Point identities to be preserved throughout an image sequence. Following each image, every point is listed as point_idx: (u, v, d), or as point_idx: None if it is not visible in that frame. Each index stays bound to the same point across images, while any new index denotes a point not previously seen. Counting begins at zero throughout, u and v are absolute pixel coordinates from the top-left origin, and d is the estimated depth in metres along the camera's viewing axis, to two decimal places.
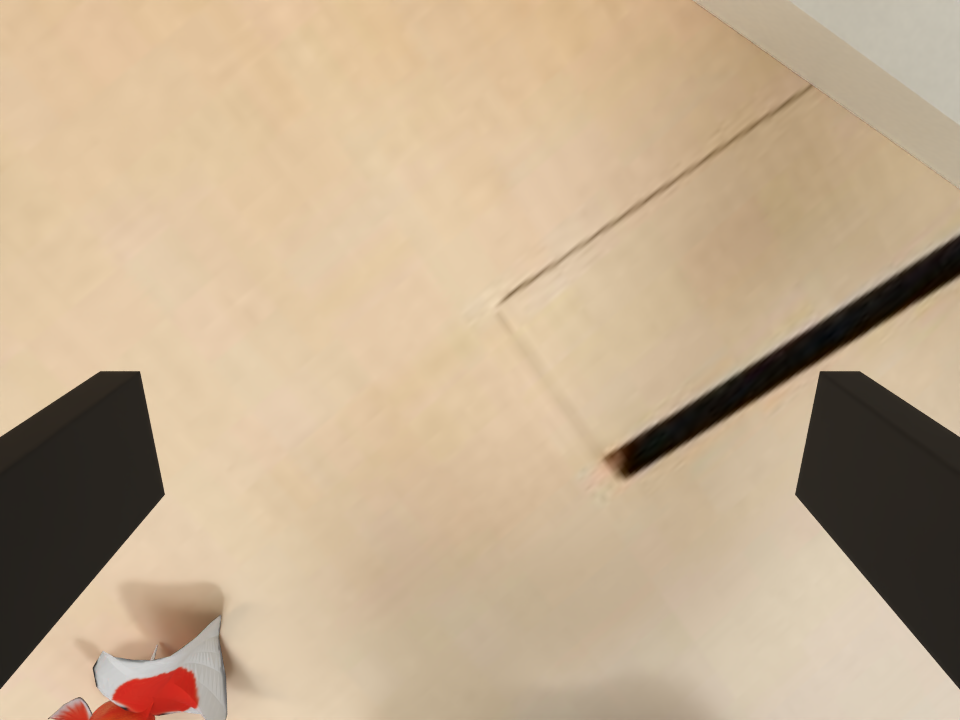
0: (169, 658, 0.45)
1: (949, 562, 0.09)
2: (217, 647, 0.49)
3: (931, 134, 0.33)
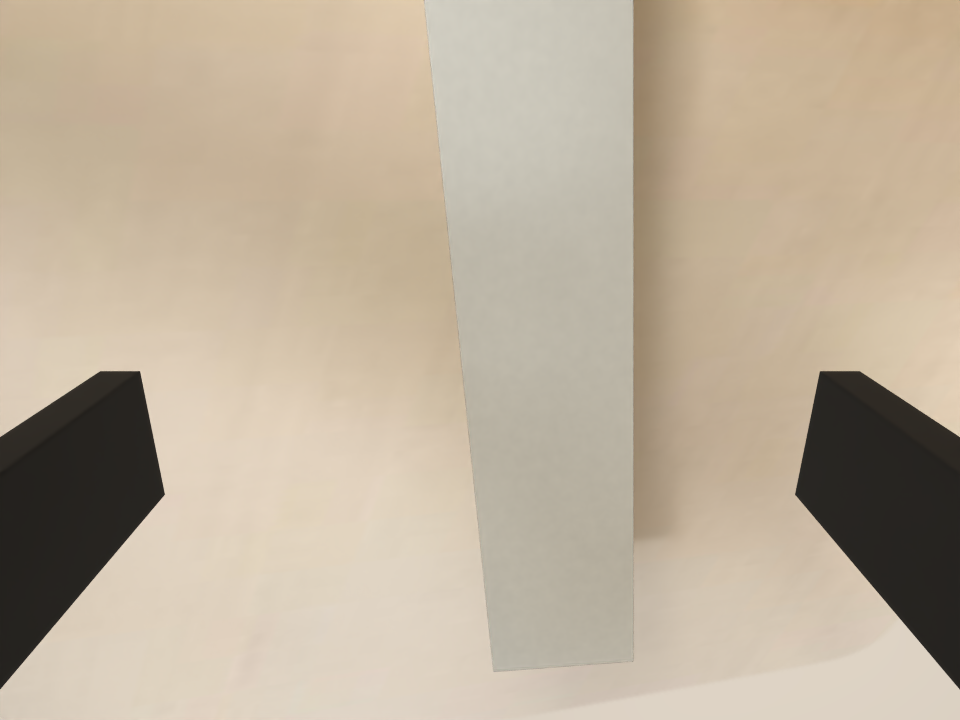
0: None
1: (949, 563, 0.09)
2: None
3: None
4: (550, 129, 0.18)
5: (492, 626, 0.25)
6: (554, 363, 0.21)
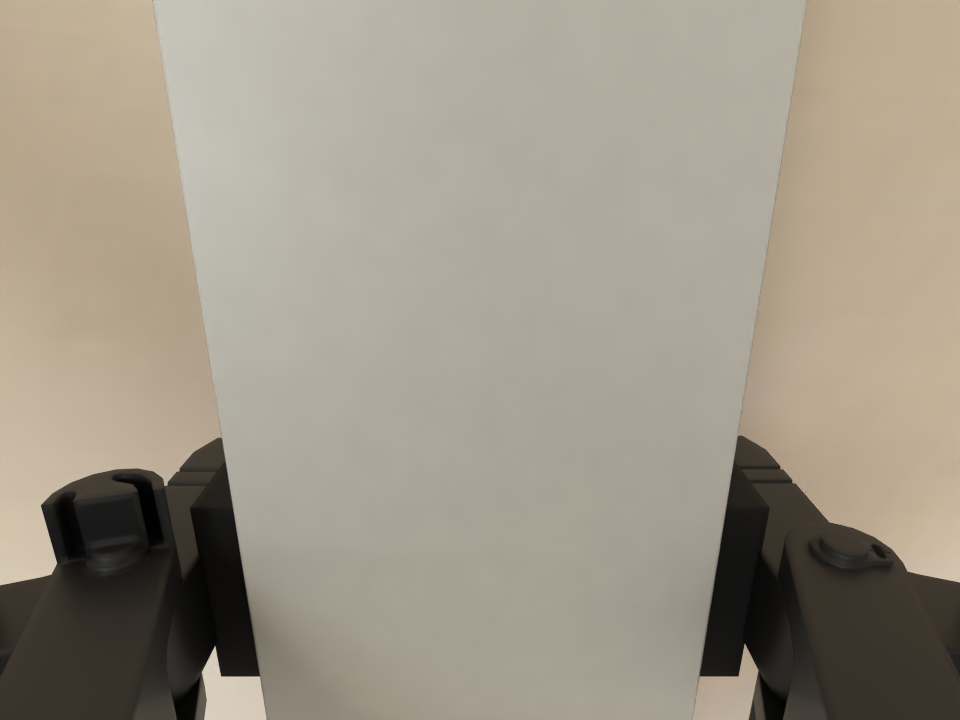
0: None
1: None
2: None
3: None
4: None
5: None
6: (503, 202, 0.06)
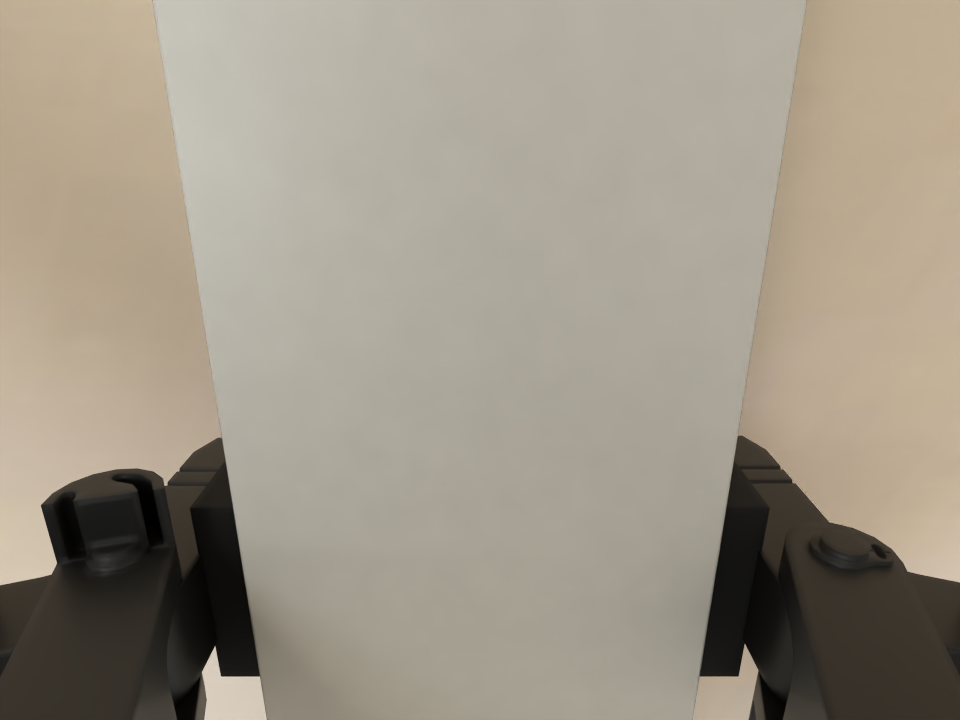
0: None
1: None
2: None
3: None
4: None
5: None
6: (503, 202, 0.06)
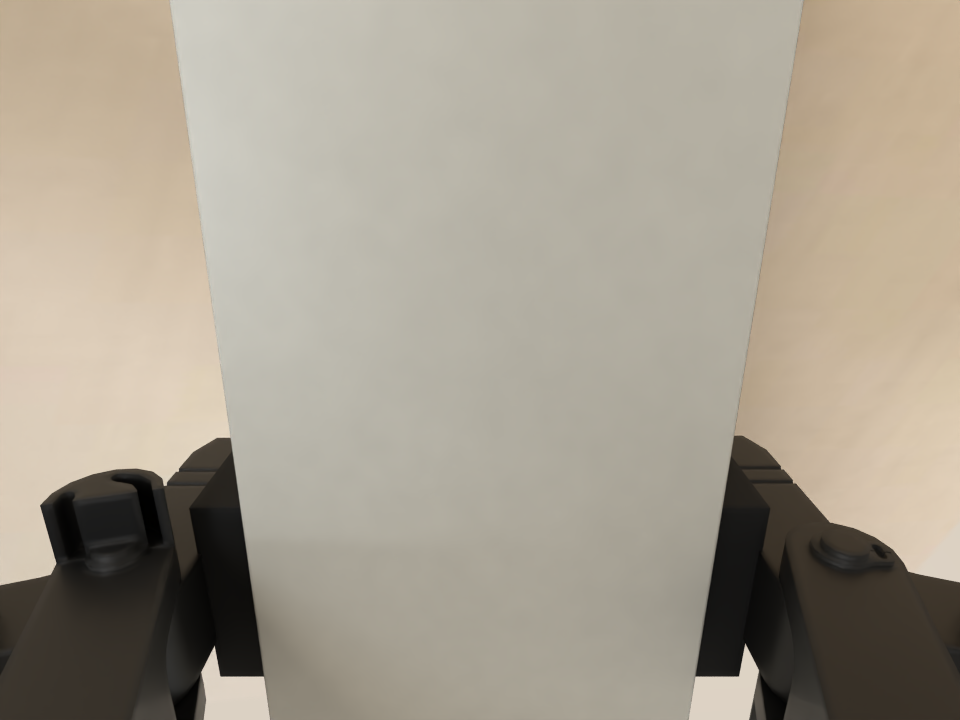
0: None
1: None
2: None
3: None
4: None
5: None
6: (507, 194, 0.06)
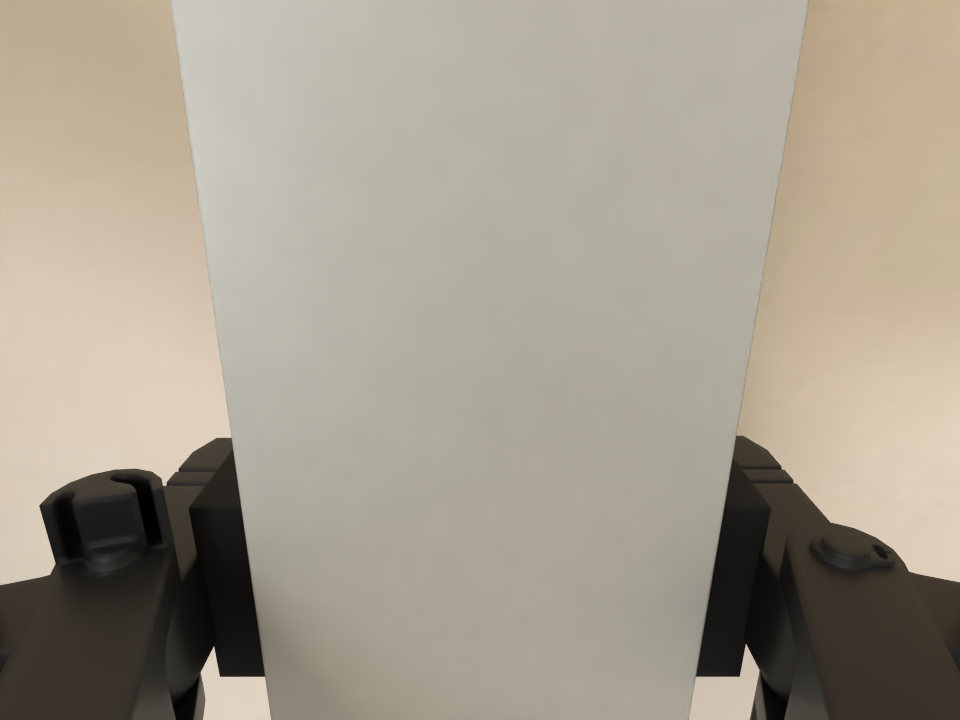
0: None
1: None
2: None
3: None
4: None
5: None
6: (510, 197, 0.06)
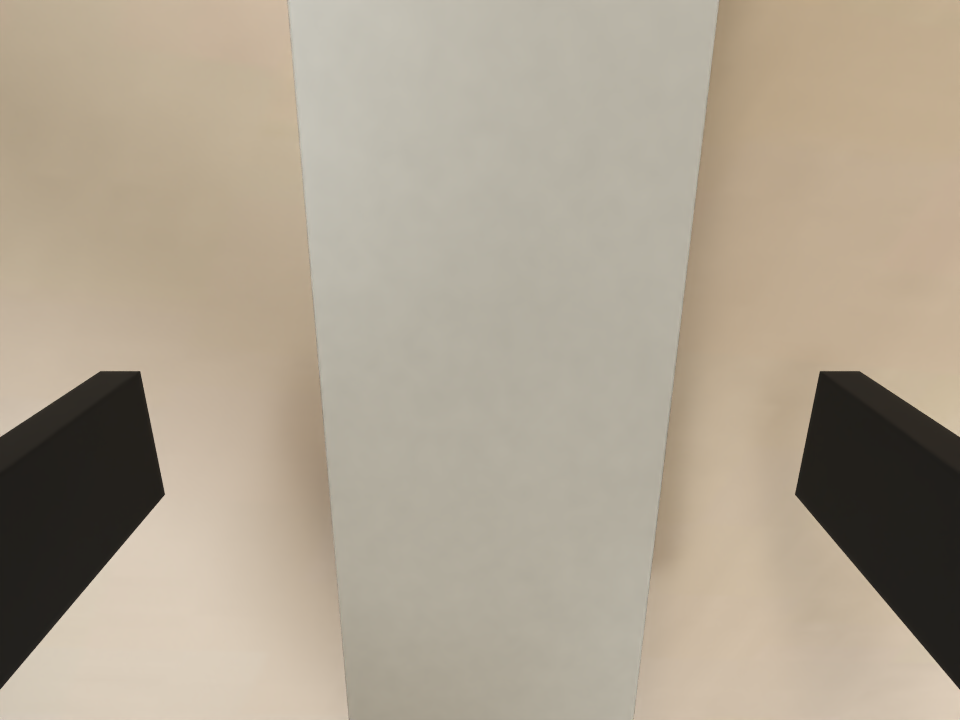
0: None
1: (949, 562, 0.09)
2: None
3: None
4: None
5: None
6: (514, 174, 0.09)
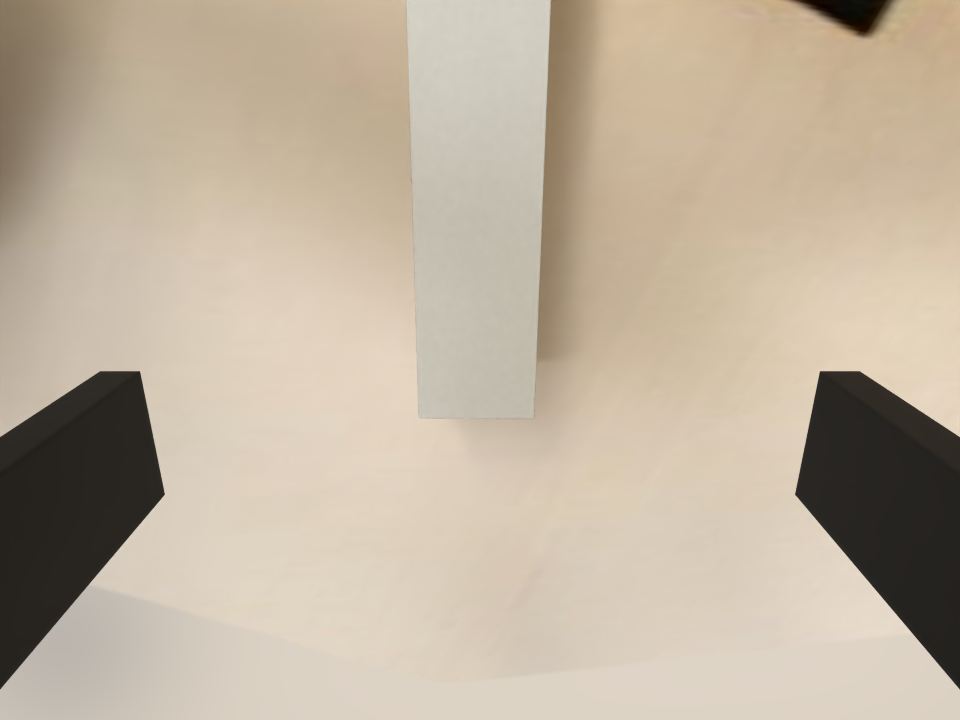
0: None
1: (949, 563, 0.09)
2: None
3: None
4: None
5: (420, 374, 0.30)
6: (483, 134, 0.26)
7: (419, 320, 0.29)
